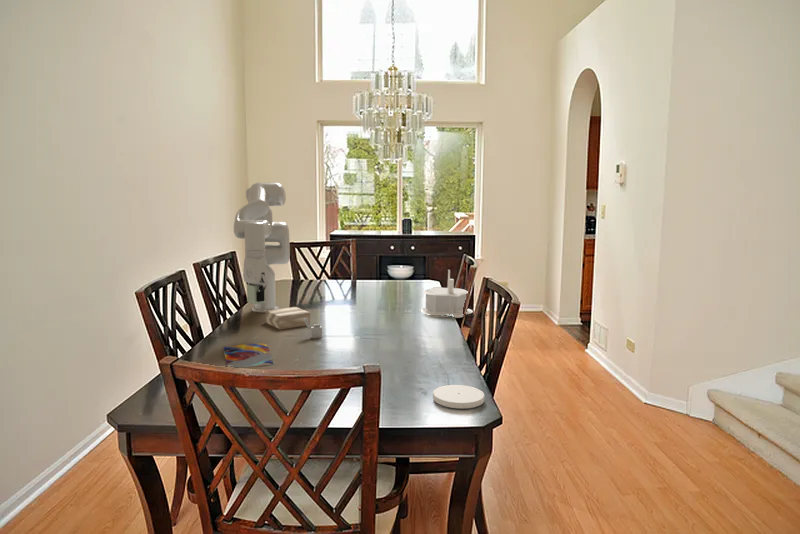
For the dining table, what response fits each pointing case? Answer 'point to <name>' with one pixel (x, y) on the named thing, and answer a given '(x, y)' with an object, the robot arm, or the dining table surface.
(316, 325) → the lighter
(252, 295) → the sage block
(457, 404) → the plastic lid
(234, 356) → the relief map
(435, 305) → the birthday cake
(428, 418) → the dining table surface
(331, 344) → the dining table surface
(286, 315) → the birch block
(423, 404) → the dining table surface
